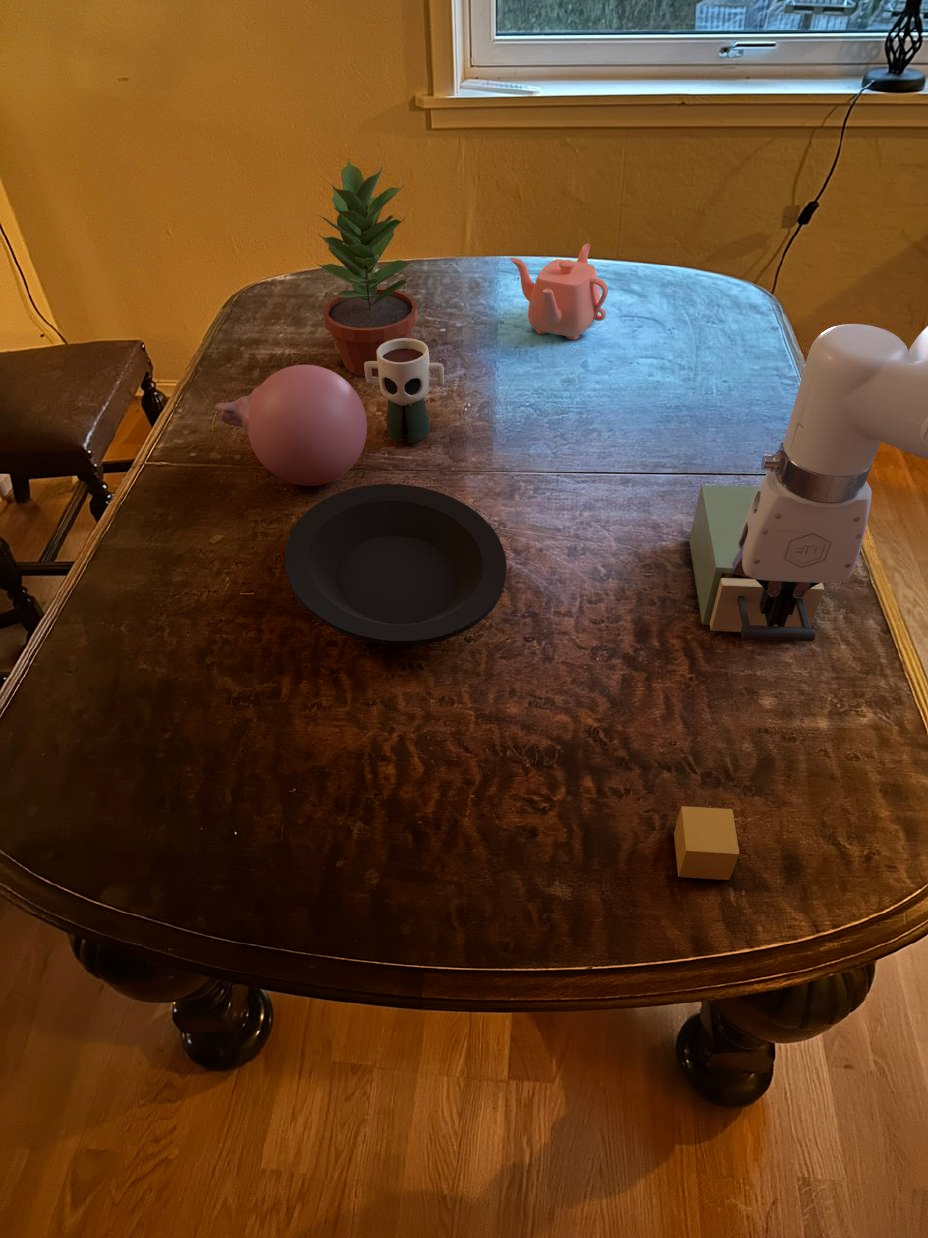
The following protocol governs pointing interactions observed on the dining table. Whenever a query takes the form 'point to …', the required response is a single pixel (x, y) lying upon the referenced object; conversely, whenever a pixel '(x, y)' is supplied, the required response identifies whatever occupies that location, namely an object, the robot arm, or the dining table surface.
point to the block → (706, 843)
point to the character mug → (405, 385)
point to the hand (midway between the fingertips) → (773, 616)
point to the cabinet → (717, 538)
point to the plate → (395, 564)
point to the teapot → (564, 296)
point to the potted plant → (365, 275)
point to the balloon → (302, 424)
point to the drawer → (743, 614)
